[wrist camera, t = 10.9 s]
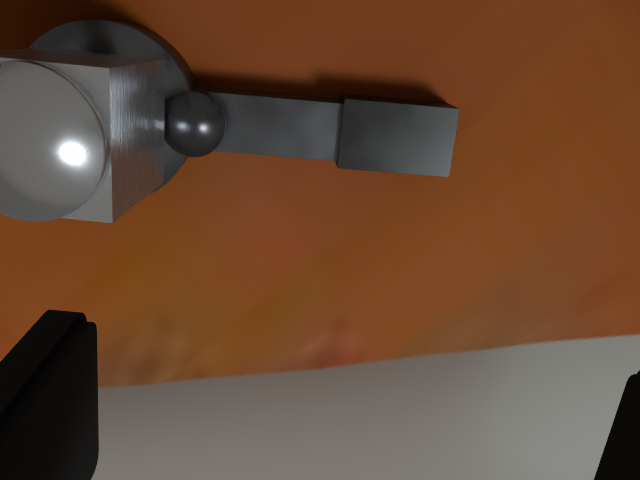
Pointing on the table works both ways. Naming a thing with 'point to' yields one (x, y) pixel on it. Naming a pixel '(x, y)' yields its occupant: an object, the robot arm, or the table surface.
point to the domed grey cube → (79, 133)
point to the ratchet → (275, 113)
